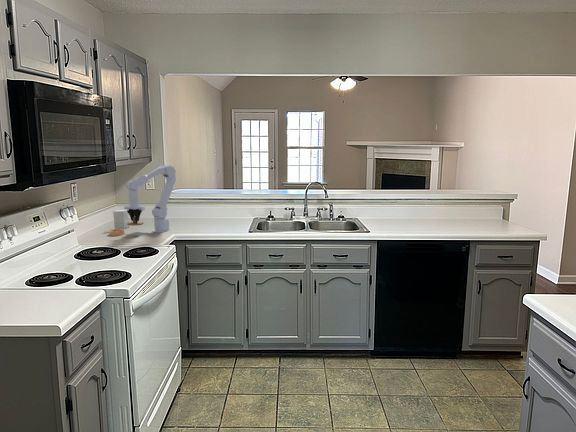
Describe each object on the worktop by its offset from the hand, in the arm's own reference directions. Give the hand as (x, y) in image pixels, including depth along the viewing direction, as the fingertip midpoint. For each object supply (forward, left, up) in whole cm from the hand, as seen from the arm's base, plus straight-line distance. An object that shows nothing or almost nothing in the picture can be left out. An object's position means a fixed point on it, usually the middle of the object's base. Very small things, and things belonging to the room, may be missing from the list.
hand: (135, 221), depth 282 cm
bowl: (+4, -12, -9) cm, 16 cm away
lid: (0, 0, -2) cm, 2 cm away
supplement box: (-14, -25, -9) cm, 30 cm away
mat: (-1, 0, -9) cm, 9 cm away
